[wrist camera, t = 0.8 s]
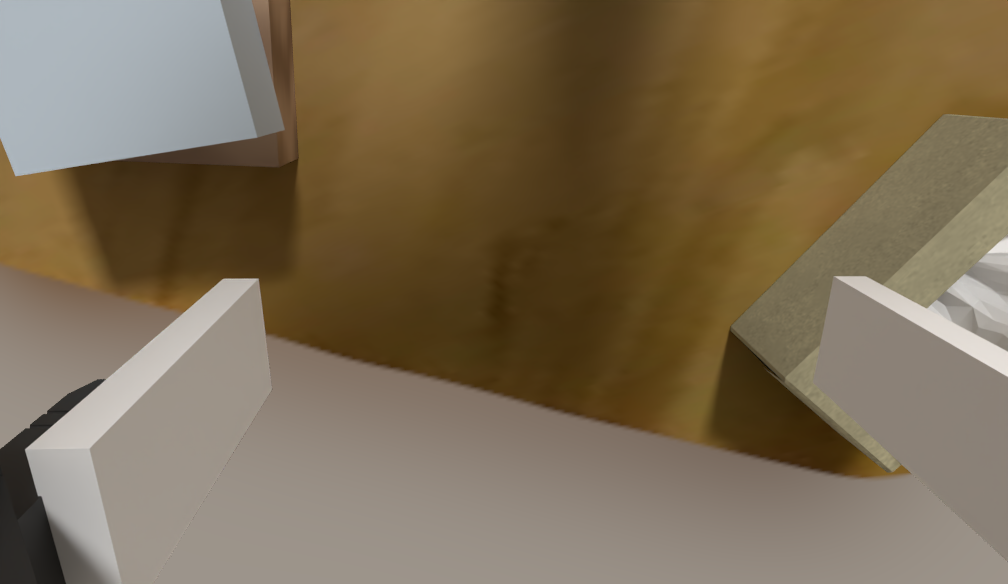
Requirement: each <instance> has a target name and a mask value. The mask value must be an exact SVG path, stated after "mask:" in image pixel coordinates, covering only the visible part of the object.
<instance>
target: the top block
mask: <svg viewBox="0 0 1008 584" xmlns="http://www.w3.org/2000/svg"><path fill="white" fill-rule="evenodd" d="M283 130H285V128H284V125H283V121H282V117H281V113H280V109H279V105H278V101H277V97H276V93H275V90H274V86H273V82H272V78H271V74H270V70H269V66H268V62H267V58H266V54H265V51H264V47H263V43H262V39H261V35H260V31H259V27H258V23H257V19H256V15H255V12H254V8H253V4H252V0H0V138H1V141H2V143H3V146H4V148H5V151H6V153H7V156H8V158H9V161H10V163H11V166H12V168H13V171H14V173H15V176H20V175H26V174H32V173H38V172H45V171H51V170H57V169H63V168H70V167H76V166H82V165H88V164H95V163H101V162H107V161H114V160H120V159H126V158H132V157H139V156H145V155H151V154H157V153H164V152H170V151H176V150H182V149H189V148H195V147H201V146H208V145H214V144H220V143H226V142H233V141H239V140H245V139H251V138H258V137H261V136H265V135H268V134H272V133H275V132H279V131H283Z"/></svg>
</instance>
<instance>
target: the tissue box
mask: <svg viewBox="0 0 1008 584" xmlns="http://www.w3.org/2000/svg"><path fill="white" fill-rule="evenodd" d="M834 276H866V277H868V278H870V279H872V280H874V281H875V282H877V283H879V284H881V285H883V286H885V287H887V288H889V289H891V290H892V291H894V292H896V293H898V294H900V295H902V296H904V297H906V298H908V299H909V300H911V301H913V302H915V303H917V304H919V305H921V306H923V307H925V308H926V309H928V310H930V311H932V312H934V313H936V314H938V315H940V316H941V317H943V318H945V319H947V320H949V321H951V322H953V323H955V324H957V325H958V326H960V327H962V328H964V329H966V330H968V331H970V332H972V333H974V334H975V335H977V336H979V337H981V338H983V339H985V340H987V341H989V342H990V343H992V344H994V345H996V346H998V347H1000V348H1002V349H1004V350H1006V351H1007V352H1008V119H1004V118H990V117H977V116H964V115H951V114H946V115H943V116H942V117H941V118H940V119H939V120H938V121H937V122H936V123H935V124H934V125H933V126H932V127H931V128H930V129H929V130H928V131H927V132H926V133H925V134H924V135H923V136H922V137H921V138H920V139H919V140H917V141H916V142H915V143H914V144H913V145H912V146H911V147H910V148H909V149H908V150H907V151H906V152H905V153H904V154H903V155H902V156H901V157H900V158H899V159H898V160H897V161H896V162H895V163H894V164H893V165H892V166H891V167H890V168H889V169H888V170H887V171H886V172H885V173H884V174H883V175H882V176H881V177H880V178H879V179H878V180H877V181H876V182H875V183H874V184H873V185H872V186H871V187H870V188H869V189H868V190H867V191H866V192H865V193H864V194H863V195H862V196H861V197H860V198H859V199H858V200H857V201H856V202H855V203H854V204H853V205H852V206H851V207H850V208H849V209H848V210H847V211H846V212H845V213H844V214H843V215H842V216H841V217H840V218H839V219H838V220H837V221H836V222H835V223H834V224H833V225H832V226H831V227H830V228H829V229H828V230H827V231H826V232H825V233H824V234H823V235H822V236H821V237H820V238H819V239H818V240H817V241H816V242H815V243H814V244H813V245H812V246H811V247H810V248H809V249H808V250H807V251H806V252H805V253H804V254H803V255H802V256H801V257H800V258H799V259H798V260H797V261H796V262H795V263H794V264H793V265H792V266H791V267H790V268H789V269H788V270H787V271H786V272H785V273H784V274H783V275H782V276H781V277H780V278H779V279H778V280H777V281H776V282H775V283H774V284H773V285H772V286H771V287H770V288H769V289H768V290H767V291H766V292H765V293H764V294H763V295H762V296H761V297H760V298H759V299H758V300H757V301H756V302H755V303H754V304H753V305H752V306H751V307H750V308H749V309H748V310H747V311H746V312H745V313H744V314H743V315H742V316H741V317H740V318H739V319H738V320H737V321H736V322H735V323H734V324H733V325H732V326H731V330H730V331H731V332H732V333H734V334H735V335H736V336H737V337H738V338H739V339H740V340H741V341H742V342H743V343H744V344H745V345H746V346H747V347H748V348H749V349H750V351H751V352H752V353H753V354H754V355H755V356H756V357H757V358H758V359H759V360H760V361H761V362H762V363H763V364H764V365H765V366H766V367H767V368H768V369H769V370H771V371H772V372H773V373H774V374H775V375H776V376H777V377H779V378H780V379H781V380H780V379H779V378H777V377H776V376H775V375H773V374H772V373H770V372H769V371H768V370H767V371H768V372H769V373H770V374H771V375H772V376H773V377H775V378H776V379H777V380H778V381H779V382H780V383H781V384H783V385H784V386H785V387H786V388H787V389H788V390H790V391H791V392H792V393H793V394H794V395H795V396H796V397H798V398H799V399H800V400H801V401H802V402H803V403H804V404H806V405H807V406H808V407H809V408H810V409H811V410H812V411H814V412H815V413H816V414H817V415H818V416H819V417H821V418H822V419H823V420H824V421H825V422H826V423H827V424H829V425H830V426H831V427H832V428H833V429H834V430H835V431H837V432H838V433H839V434H840V435H842V436H843V437H844V438H845V439H847V440H848V441H849V442H850V443H852V444H853V445H854V446H855V447H856V448H858V449H859V450H860V451H861V452H863V453H864V454H865V455H866V456H868V457H869V458H870V459H871V460H873V461H874V462H875V463H876V464H878V465H879V466H880V467H881V468H883V469H884V470H885V471H886V472H893V471H894V470H896V469H897V468H898V467H899V466H900V465H901V463H900V462H899V461H898V460H896V459H895V458H894V457H893V456H892V455H891V454H890V453H889V452H888V451H887V450H886V449H885V448H883V447H882V446H881V445H880V444H879V443H878V442H877V441H876V440H875V439H874V438H873V437H871V436H870V435H869V434H868V433H867V432H866V431H865V430H864V429H863V428H862V427H861V426H860V425H858V424H857V423H856V422H855V421H854V420H853V419H852V418H851V417H850V416H849V415H848V414H847V413H845V412H844V411H843V410H842V409H841V408H840V407H839V406H838V405H837V404H836V403H835V402H834V401H832V400H831V399H830V398H829V397H828V396H827V395H826V394H825V393H824V392H823V391H822V390H821V389H819V388H818V387H817V386H816V385H815V384H814V383H813V379H814V374H815V369H816V364H817V359H818V354H819V349H820V343H821V338H822V333H823V328H824V323H825V318H826V313H827V308H828V303H829V298H830V293H831V288H832V282H833V277H834ZM764 369H765V368H764ZM765 370H766V369H765Z"/></svg>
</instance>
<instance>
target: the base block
mask: <svg viewBox="0 0 1008 584" xmlns="http://www.w3.org/2000/svg"><path fill="white" fill-rule="evenodd" d="M252 4H253V8H254V12H255V15H256V19H257V23H258V27H259V31H260V35H261V39H262V43H263V47H264V51H265V54H266V58H267V62H268V66H269V70H270V74H271V78H272V82H273V86H274V90H275V93H276V97H277V101H278V105H279V109H280V113H281V117H282V121H283V125H284V128H285V130H283V131H279V132H275V133H272V134H268V135H265V136H261V137H258V138H251V139H245V140H239V141H233V142H226V143H220V144H214V145H208V146H201V147H195V148H189V149H182V150H176V151H170V152H164V153H157V154H151V155H145V156H139V157H132V158H126V159H120V160H114V161H134V162H158V163H183V164H207V165H232V166H257V167H281V166H283V165H285V164H287V163H290V162H292V161H294V160H296V159H298V140H297V121H296V102H295V84H294V65H293V47H292V28H291V10H290V0H252Z"/></svg>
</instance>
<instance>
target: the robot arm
mask: <svg viewBox="0 0 1008 584" xmlns="http://www.w3.org/2000/svg"><path fill="white" fill-rule="evenodd" d="M813 383H814V384H815V385H816V386H817V387H818V388H819V389H821V390H822V391H823V392H824V393H825V394H826V395H827V396H828V397H829V398H830V399H831V400H832V401H834V402H835V403H836V404H837V405H838V406H839V407H840V408H841V409H842V410H843V411H844V412H845V413H847V414H848V415H849V416H850V417H851V418H852V419H853V420H854V421H855V422H856V423H857V424H858V425H860V426H861V427H862V428H863V429H864V430H865V431H866V432H867V433H868V434H869V435H870V436H871V437H873V438H874V439H875V440H876V441H877V442H878V443H879V444H880V445H881V446H882V447H883V448H885V449H886V450H887V451H888V452H889V453H890V454H891V455H892V456H893V457H894V458H895V459H896V460H898V461H899V462H900V463H901V464H902V465H903V466H904V467H905V468H906V469H907V470H908V471H909V472H911V473H912V474H913V475H914V476H915V477H916V478H917V479H918V480H919V481H920V482H921V483H922V484H924V485H925V486H926V487H927V488H928V489H929V490H930V491H931V492H932V493H933V494H935V495H936V496H937V497H938V498H939V499H940V500H941V501H942V502H943V503H944V504H945V505H946V506H948V507H949V508H950V509H951V510H952V511H953V512H954V513H955V514H956V515H957V516H958V517H959V518H961V519H962V520H963V521H964V522H965V523H966V524H967V525H968V526H969V527H970V528H971V529H972V530H974V531H975V532H976V533H977V534H978V535H979V536H980V537H981V538H982V539H983V540H984V541H985V542H987V543H988V544H989V545H990V546H991V547H992V548H993V549H994V550H995V551H996V552H997V553H998V554H1000V555H1001V556H1002V557H1003V558H1004V559H1005V560H1006V561H1007V562H1008V352H1007V351H1006V350H1004V349H1002V348H1000V347H998V346H996V345H994V344H992V343H990V342H989V341H987V340H985V339H983V338H981V337H979V336H977V335H975V334H974V333H972V332H970V331H968V330H966V329H964V328H962V327H960V326H958V325H957V324H955V323H953V322H951V321H949V320H947V319H945V318H943V317H941V316H940V315H938V314H936V313H934V312H932V311H930V310H928V309H926V308H925V307H923V306H921V305H919V304H917V303H915V302H913V301H911V300H909V299H908V298H906V297H904V296H902V295H900V294H898V293H896V292H894V291H892V290H891V289H889V288H887V287H885V286H883V285H881V284H879V283H877V282H875V281H874V280H872V279H870V278H868V277H866V276H834V277H833V282H832V288H831V293H830V298H829V303H828V308H827V313H826V318H825V323H824V328H823V333H822V338H821V343H820V349H819V354H818V359H817V364H816V369H815V374H814V379H813ZM271 390H272V383H271V375H270V367H269V358H268V351H267V342H266V334H265V326H264V318H263V310H262V302H261V294H260V285H259V279H222V280H221V281H220V282H219V283H218V284H217V285H216V286H214V287H213V288H212V289H211V290H210V291H209V292H207V293H206V294H205V295H204V296H203V297H202V298H200V299H199V300H198V301H197V302H196V303H195V304H193V305H192V306H191V307H190V308H189V309H188V310H186V311H185V312H184V313H183V314H182V315H181V316H179V317H178V318H177V319H176V320H175V321H174V322H173V323H171V324H170V325H169V326H168V327H167V328H166V329H164V330H163V331H162V332H161V333H160V334H159V335H157V336H156V337H155V338H154V339H153V340H152V341H150V342H149V343H148V344H147V345H146V346H145V347H143V348H142V349H141V350H140V351H139V352H138V353H137V354H135V355H134V356H133V357H132V358H131V359H130V360H128V361H127V362H126V363H125V364H124V365H123V366H121V367H120V368H119V369H118V370H117V371H116V372H114V373H113V374H112V375H111V376H110V377H109V378H108V379H103V380H102V379H100V380H96V381H94V382H92V383H90V384H88V385H85V386H84V387H81V388H79V389H77V390H75V391H73V392H71V393H69V394H67V395H66V396H65V397H64V398H62V399H61V400H60V401H59V402H58V403H56V404H55V405H54V406H53V407H52V408H50V409H49V410H48V411H47V414H43V415H42V416H40V417H39V418H38V419H37V420H35V421H34V422H33V423H32V424H31V425H30V428H29V429H24V430H23V431H22V432H21V433H20V434H18V435H17V436H16V437H15V438H14V439H12V440H11V441H10V442H8V443H7V444H6V445H5V446H4V447H2V448H1V449H0V584H153V583H154V582H155V580H156V578H157V577H158V575H159V574H160V572H161V570H162V569H163V567H164V565H165V564H166V562H167V561H168V559H169V557H170V556H171V554H172V552H173V551H174V549H175V547H176V546H177V544H178V543H179V541H180V539H181V538H182V536H183V534H184V533H185V531H186V529H187V528H188V526H189V525H190V523H191V521H192V520H193V518H194V516H195V515H196V513H197V511H198V510H199V508H200V507H201V505H202V503H203V502H204V500H205V498H206V497H207V495H208V494H209V492H210V490H211V489H212V487H213V485H214V484H215V482H216V480H217V479H218V477H219V476H220V474H221V472H222V471H223V469H224V467H225V466H226V464H227V463H228V461H229V459H230V458H231V456H232V454H233V453H234V451H235V449H236V448H237V446H238V445H239V443H240V441H241V440H242V437H243V436H244V435H245V433H246V431H247V430H248V428H249V427H250V425H251V423H252V422H253V420H254V418H255V417H256V415H257V413H258V412H259V410H260V408H261V407H262V405H263V404H264V402H265V400H266V399H267V397H268V395H269V394H270V392H271Z"/></svg>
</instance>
